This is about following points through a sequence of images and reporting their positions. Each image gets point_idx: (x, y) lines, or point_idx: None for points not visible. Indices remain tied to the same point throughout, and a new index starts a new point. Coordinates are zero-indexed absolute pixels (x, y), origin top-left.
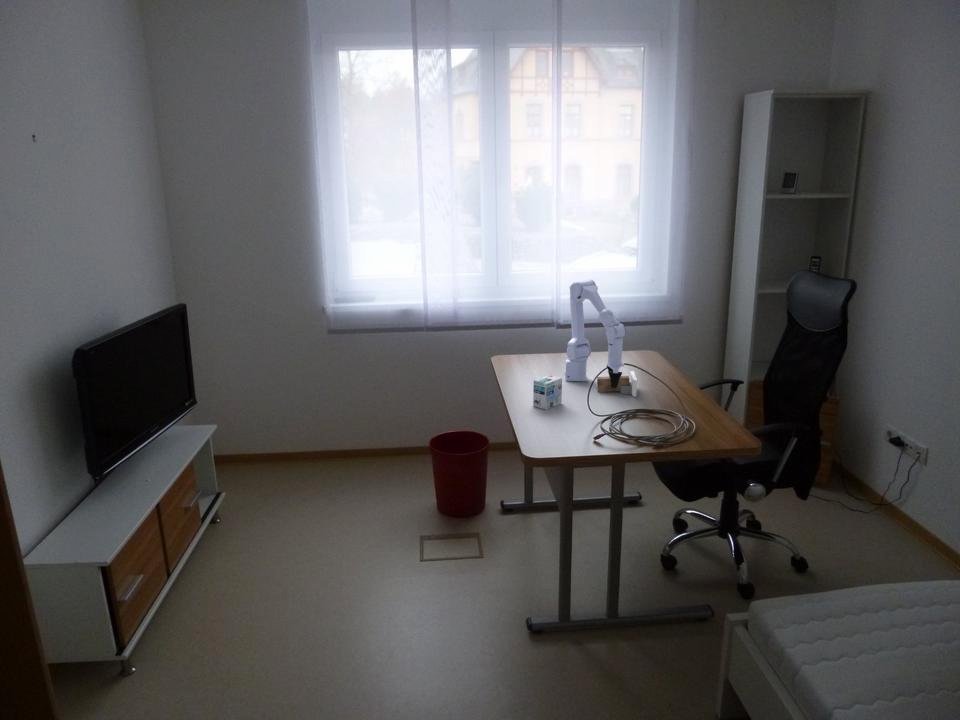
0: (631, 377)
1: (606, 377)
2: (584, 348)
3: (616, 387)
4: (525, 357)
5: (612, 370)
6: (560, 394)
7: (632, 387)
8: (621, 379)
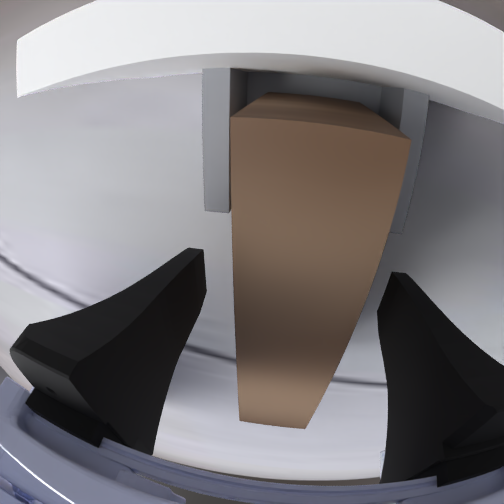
0: (298, 60)
1: (270, 392)
2: (24, 481)
3: (408, 278)
4: (17, 380)
5: (149, 387)
6: None
7: (475, 110)
8: (371, 266)
